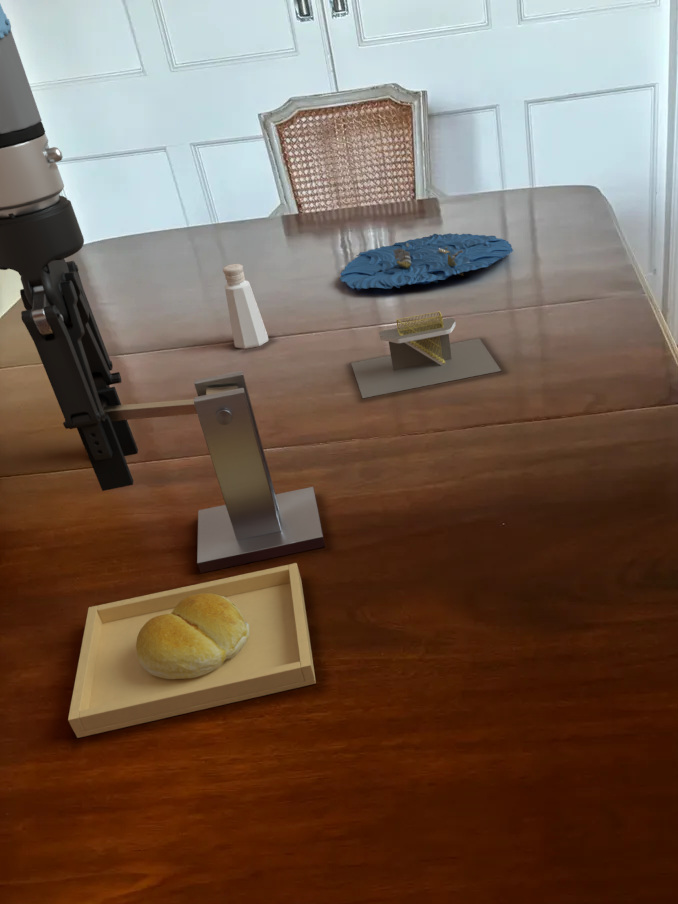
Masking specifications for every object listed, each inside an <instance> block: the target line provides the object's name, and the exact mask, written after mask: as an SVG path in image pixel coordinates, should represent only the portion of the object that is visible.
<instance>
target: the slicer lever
mask: <svg viewBox="0 0 678 904" xmlns="http://www.w3.org/2000/svg"><path fill="white" fill-rule="evenodd" d="M234 389H238V386H227V387H215V388H206V395H208V394H214V393H219V392H224V391H229V390H234ZM98 396H99V399H100V403H101V406H102V409H103V411H104V413H105V415H109V418H110V420H111V421H120V420H127V421H130V420H141V419H142V420H143V419H154V418H164V417H165V418H166V417H178V416H188V415H198V414H197V411H196V408H195V404H194V398H192V399H191V398H190V399H178V400H177V399H176V400H165V401H155V402H142V403H132V404H130V403H129V404H121V405H117V406H109V405H110V402H109V400H108V398H107V397H106V396H104V395H102V394H98Z"/></svg>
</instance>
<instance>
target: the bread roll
mask: <svg viewBox="0 0 678 904" xmlns="http://www.w3.org/2000/svg"><path fill="white" fill-rule="evenodd" d="M249 634H250V630H249V624H248V623H246V622H244V619H243V616H242V614H241V613H240V611H239V609H238V608H237V607H236V605H235V604H234V603H232V602H230V601H229V600H228V599H226V598H225V597H223V596H219V595H216V594H211V593H202V594H196V595H191V596H189V597H186V598H185V599H183V600H182V601H181V602H180V603H179V604H178V605H177V606H176V607H175V609H174V610H173V611H172V612H171V614H163V615H159V616H156V617H154V618H152V619H150V620H149V621H148V622H146V623H145V625H144V626H143V627H142V628H141V630H140V632H139V634H138V636H137V642H136V649H137V655H138V659H139V662H140V663H141V665H142V667H143V668H144V669H145V670H146V671H147V672H149V673H151V674H152V675H155V676H157V677H161V678H164V679H187V678H195V677H198V676H201V675H204V674H207V673H209V672H211V671H213V670H214V669H216V668H218V667H219V666H220V665H221V664H222V663H223V662H224V660H225V659H229V658H232V657H234V656H235V655H236V654H237V653H238V652H239V651H240V650H241V649H242V647H243V646H244V645H245V643H246V642H247V640H248V638H249Z"/></svg>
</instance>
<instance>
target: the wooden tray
mask: <svg viewBox="0 0 678 904" xmlns="http://www.w3.org/2000/svg"><path fill="white" fill-rule="evenodd" d="M298 566H299V565H298V563H297V562H293V563H290V564H285V565H280V566H275V567H270V568H266V569H262V570H257V571H252V572H248V573H243V574H237V575H234V576H230V577H224V578H220V579H219V578H218V579H215V580H211V581H204V582H200V583H196V584H192V585H186V586H182V587H177V588H173V589H168V590H164V591H159V592H154V593H150V594H146V595H145V594H144V595H140V596H135V597H131V598H127V599H121V600H117V601H112V602H108V603H102V604H98V605H92V606H89V607H88V608H87V613H86V620H85V625H84V630H83V636H82V640H81V647H80V651H79V652H80V653H79V658H78V663H77V668H76V673H75V680H74V684H73V690H72V696H71V700H70V706H69V713H68V716H67V717H68V719H67V721H68V723H69V726H70V727H71V729H72V731H73V732H74V734H75V736H76V738H77V739H79V738H84V737H88V736H93V735H97V734H102V733H105V732H110V731H115V730H119V729H123V728H128V727H133V726H137V725H142V724H146V723H150V722H154V721H159V720H163V719H167V718H172V717H175V716H181V715H184V714H189V713H193V712H199V711H202V710H206V709H207V710H208V709H211V708H216V707H220V706H224V705H229V704H232V703H239V702H242V701H246V700H251V699H254V698H259V697H263V696H267V695H268V696H269V695H273V694H276V693H281V692H286V691H289V690H294V689H298V688H303V687H308V686H312V685H315V684H317V683H316V682H317V681H316V674H315V667H314V659H313V652H312V646H311V639H310V631H309V624H308V617H307V611H306V603H305V596H304V588H303V584H302V583H303V581H302V576H301V574H300V570H299V569H300V568H299V567H298ZM202 593H211V594H216V595H219V596H223V597H225V598H226V599H228V600H229V601H230V602H232V603H234V604H235V605H236V607H237V608H238V609H239V611H240V613H241V614H242V616H243V619H244V622H246V623H248V624H249V630H250V634H249V638H248V640H247V642H246V643H245V645H244V646H243V647H242V649H241V650H240V651H239V652H238V653H237V654H236V655H235V656H234V657H232V658H229V659H225V660H224V662H223V663H222V664H221V665H220V666H219V667H218V668H216V669H214V670H213V671H211V672H209V673H207V674H204V675H201V676H198V677H195V678H187V679H164V678H161V677H157V676H155V675H152V674H151V673H149V672H147V671H146V670H145V669H144V668H143V667H142V665H141V663H140V662H139V659H138V655H137V649H136V642H137V636H138V634H139V632H140V630H141V628H142V627H143V626H144V625H145V623H146V622H148V621H149V620H150V619H152V618H154V617H156V616H159V615H163V614H171V612H172V611H173V610H174V609H175V607H176V606H177V605H178V604H179V603H180V602H181V601H182V600H183V599H185V598H186V597H189V596H191V595H196V594H202Z"/></svg>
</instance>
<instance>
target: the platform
mask: <svg viewBox="0 0 678 904" xmlns="http://www.w3.org/2000/svg"><path fill="white" fill-rule="evenodd" d="M395 320H396V327H395V328H391V329H385V330H380V331H379V332H378V336H379V339H380V340H381V341H384V342H388V346H389V353H390V355H385V356H380V357H375V358H369V359H365V360H360V361H355V362H350V365H351V368H352V370H353V371H352V372H353V373H354V374H353V375H354V377H355V380H356V383H357V386H358V389H359V392H360V395H361V398H362V399H366V398H371V397H377V396H381V395H387V394H391V393H397V392H401V391H405V390H406V391H407V390H412V389H418V388H422V387H427V386H432V385H435V384H442V383H447V382H451V381H458V380H462V379H466V378H467V379H468V378H473V377H478V376H482V375H487V374H488V375H489V374H493V373H497V372H502V369H501V368H500V367H499V365H498V363H497V362H496V360H495V359H494V357H493V356H492V355H491V353H490V352H489V350H488V348H487V347H486V346H485V344H484V343H483V342H482V340H481V338H473V339H469V340H468V339H467V340H463V341H458V342H452V343H451V342H450V341H451V340H450V334H451V333H452V332H453V330H454V329H455V327H456V320H455V318H453V317H448V318H443V314H442V312H441V311H440V310H438V311H434V312H433V311H432V312H430V313H429V312H428V313H423V314H418V315H412V316H406V317H401V318H397V319H395Z"/></svg>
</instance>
